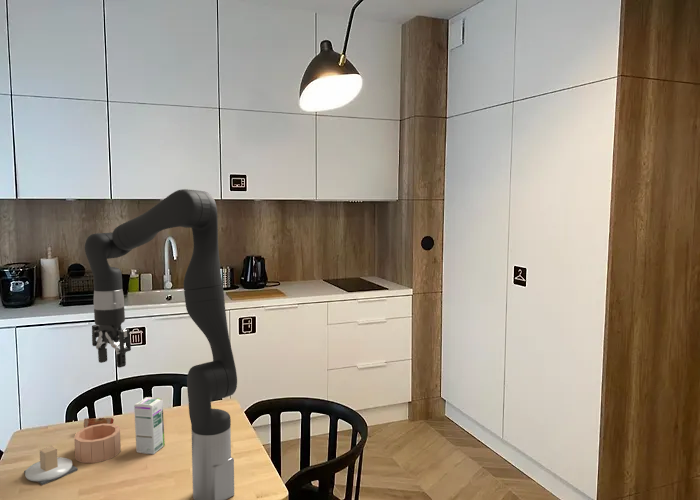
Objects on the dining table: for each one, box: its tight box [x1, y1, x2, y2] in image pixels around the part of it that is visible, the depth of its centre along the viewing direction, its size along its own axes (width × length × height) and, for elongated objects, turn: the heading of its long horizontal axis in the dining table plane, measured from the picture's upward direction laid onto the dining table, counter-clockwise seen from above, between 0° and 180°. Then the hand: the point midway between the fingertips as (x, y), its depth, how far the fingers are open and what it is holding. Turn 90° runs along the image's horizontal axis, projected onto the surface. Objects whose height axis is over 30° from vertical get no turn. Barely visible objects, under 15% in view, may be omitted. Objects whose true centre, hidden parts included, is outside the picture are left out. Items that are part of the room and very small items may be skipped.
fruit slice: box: [83, 417, 115, 428], centre depth 163 cm, size 8×7×5 cm
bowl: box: [73, 423, 122, 464], centre depth 150 cm, size 12×12×6 cm
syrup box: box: [133, 396, 166, 455], centre depth 152 cm, size 6×6×14 cm
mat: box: [23, 464, 79, 486], centre depth 140 cm, size 10×9×1 cm
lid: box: [24, 445, 73, 482], centre depth 139 cm, size 11×11×6 cm
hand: (112, 364), depth 145 cm, fingers open, 8 cm apart
